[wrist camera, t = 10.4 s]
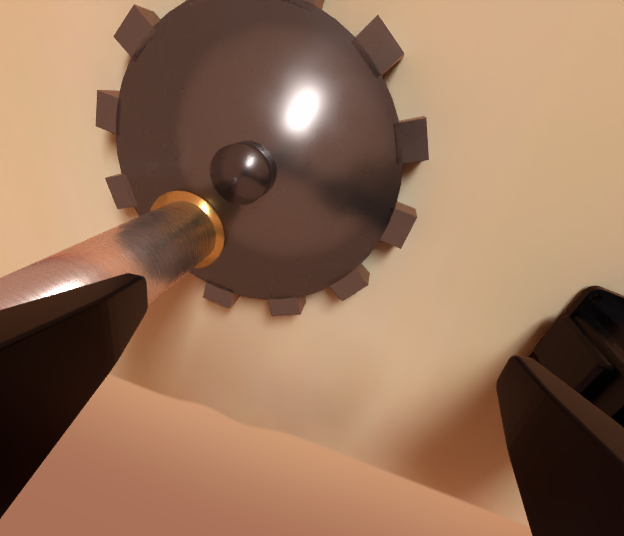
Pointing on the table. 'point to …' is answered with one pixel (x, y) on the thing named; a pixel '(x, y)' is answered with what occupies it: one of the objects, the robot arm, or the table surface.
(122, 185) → the sprocket plate
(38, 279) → the drive pin
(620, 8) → the table surface
